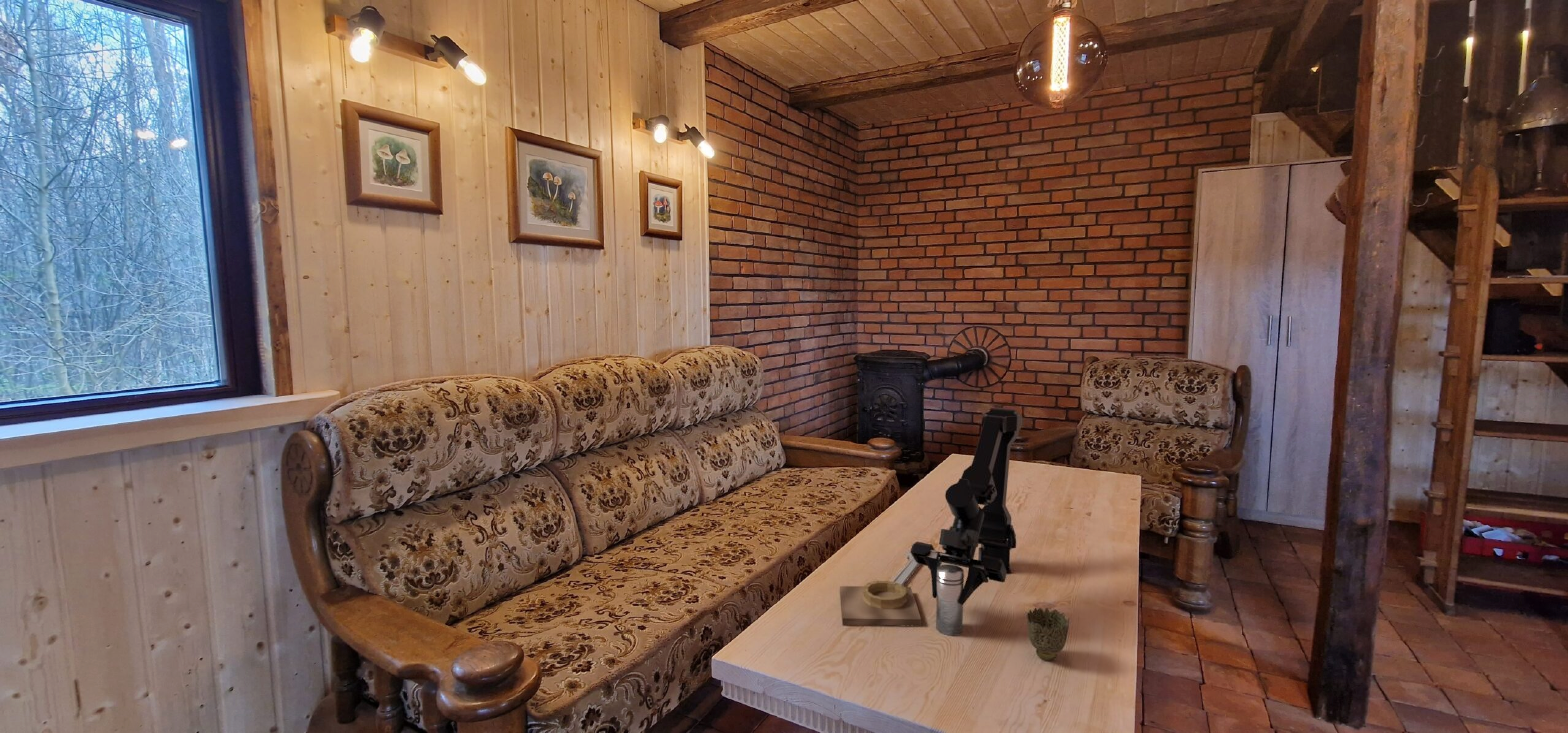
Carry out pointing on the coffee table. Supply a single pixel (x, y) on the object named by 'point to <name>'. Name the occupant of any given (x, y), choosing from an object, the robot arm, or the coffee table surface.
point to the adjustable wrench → (906, 570)
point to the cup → (1047, 632)
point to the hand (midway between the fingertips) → (947, 600)
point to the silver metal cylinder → (949, 600)
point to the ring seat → (879, 605)
